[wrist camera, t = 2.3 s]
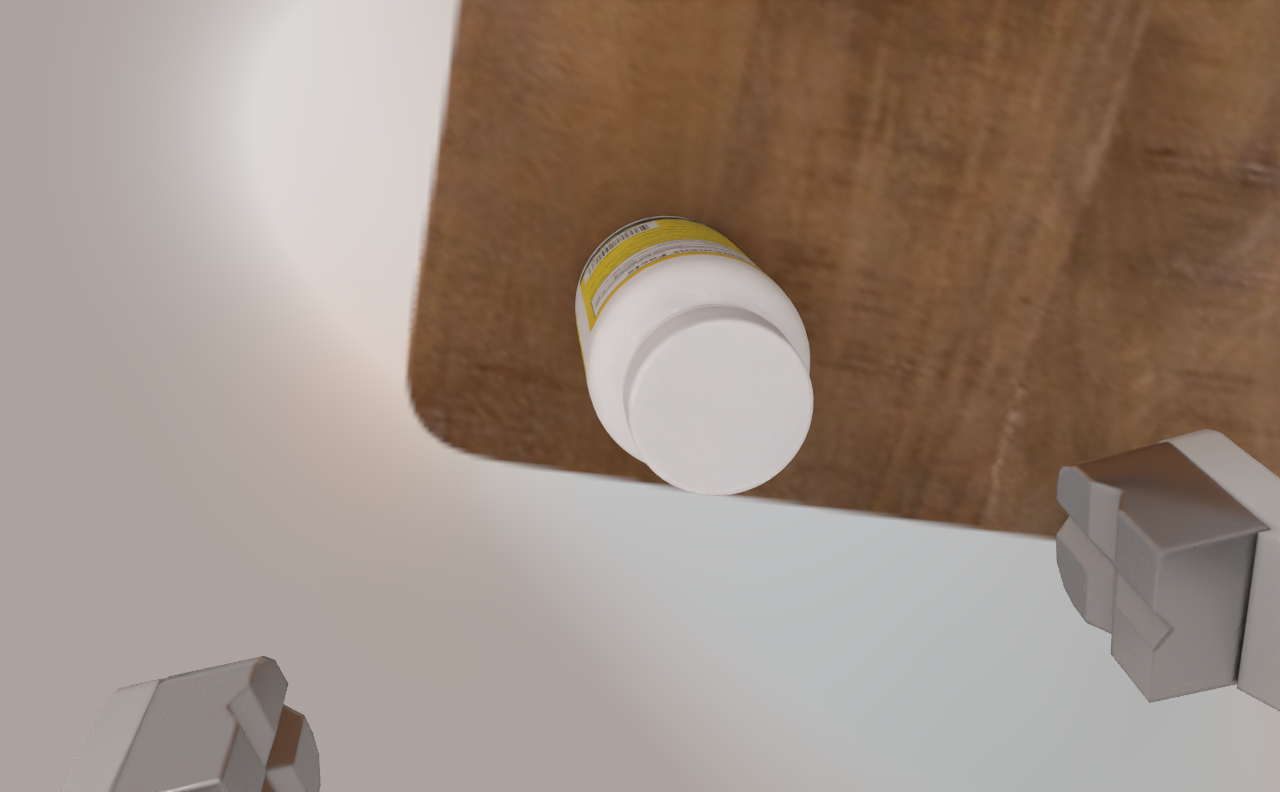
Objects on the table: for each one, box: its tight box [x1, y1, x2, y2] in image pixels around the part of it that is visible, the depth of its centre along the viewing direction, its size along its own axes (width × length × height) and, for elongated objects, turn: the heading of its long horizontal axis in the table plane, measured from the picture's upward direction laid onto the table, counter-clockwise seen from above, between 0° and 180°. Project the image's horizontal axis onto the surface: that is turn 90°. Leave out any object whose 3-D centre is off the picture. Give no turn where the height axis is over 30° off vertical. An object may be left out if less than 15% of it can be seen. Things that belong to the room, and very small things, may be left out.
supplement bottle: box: [575, 216, 813, 496], centre depth 26 cm, size 5×5×10 cm
